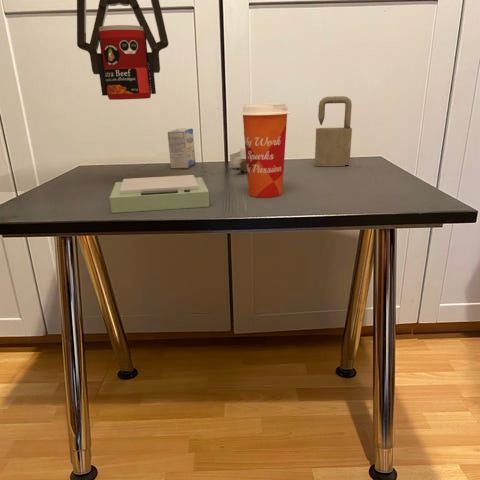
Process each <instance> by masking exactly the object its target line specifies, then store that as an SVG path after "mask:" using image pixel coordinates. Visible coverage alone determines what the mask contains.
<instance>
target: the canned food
mask: <svg viewBox="0 0 480 480" xmlns="http://www.w3.org/2000/svg"><path fill="white" fill-rule="evenodd" d="M99 49H100V53H101V55H102V62H103V70H104V77H105V84H106V92H107V98H108V100H111V101H113V100H114V101H115V100H116V101H118V100H124V101H125V100H146V99H147V100H148V99H151V97H152V94H151V84H150V74H149V63H148V42H147V40H146V37H145V34H144V30H143V27H142V26H140V25H132V24H111V25H104V26H101V27H99Z"/></svg>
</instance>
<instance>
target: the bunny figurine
mask: <svg viewBox="0 0 480 480" xmlns="http://www.w3.org/2000/svg"><path fill="white" fill-rule="evenodd" d="M229 163H230V164H229V165H230V166H235V167H239V168H240V171H242V172H243V173H247V164H246V151H245V147H244V148H239V151H237V152H234V153H231V154H229Z"/></svg>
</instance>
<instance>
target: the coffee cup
mask: <svg viewBox="0 0 480 480" xmlns="http://www.w3.org/2000/svg"><path fill="white" fill-rule="evenodd" d="M288 109H289V107H287V104H286V103H255V104H254V103H251V104H243V107H242V112H241V113H240V115H242V120H243V121H242V123H243V137H244V138H243V139H244V148H245V151H246V164H247V172H246V176H247V188H248V196H250V197H252V198H259V199H260V198H261V199H267V198H277V197H280V196H281V195H282V193H283V186H284V185H283V183H284V170H285V154H286V139H287V127H288V126H287V125H288V114H291V112H290V111H289V110H288Z"/></svg>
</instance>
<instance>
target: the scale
mask: <svg viewBox="0 0 480 480" xmlns="http://www.w3.org/2000/svg"><path fill="white" fill-rule="evenodd" d="M109 204H110V211H111V214H119V213H120V214H121V213H136V212H151V211H152V212H153V211H165V210H166V211H167V210H168V211H169V210H183V209H196V208H197V209H198V208H210V192H209V189H208V188H207V185H206V183H205V181H204V180H203V177H202V176H201V177H199V176H198V177H195V175H194V174H188V175H185V174H184V175H169V176H167V175H166V176H151V177H135V178H134V177H133V178H123V180H122V181H116V182H115V184H114V185H113V188H112V191H111V193H110V195H109Z"/></svg>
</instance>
